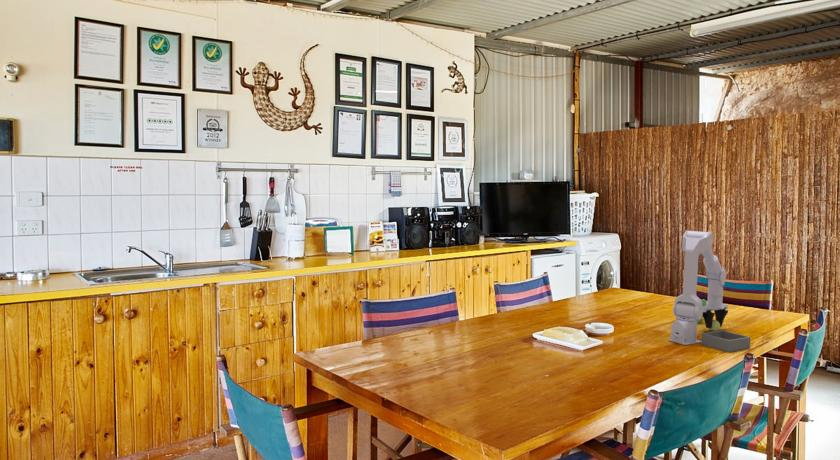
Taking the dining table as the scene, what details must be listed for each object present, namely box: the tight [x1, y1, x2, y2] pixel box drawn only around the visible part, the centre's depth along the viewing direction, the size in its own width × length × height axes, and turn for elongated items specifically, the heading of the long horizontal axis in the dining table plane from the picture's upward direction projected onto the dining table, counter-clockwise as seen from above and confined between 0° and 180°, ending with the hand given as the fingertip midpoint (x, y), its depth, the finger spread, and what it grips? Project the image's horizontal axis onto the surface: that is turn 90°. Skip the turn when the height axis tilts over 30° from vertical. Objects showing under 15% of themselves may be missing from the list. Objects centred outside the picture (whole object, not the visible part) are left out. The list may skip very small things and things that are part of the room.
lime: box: [708, 319, 721, 332], centre depth 266 cm, size 5×5×5 cm
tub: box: [700, 329, 751, 354], centre depth 241 cm, size 12×12×4 cm
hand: (713, 327), depth 266 cm, fingers open, 6 cm apart
